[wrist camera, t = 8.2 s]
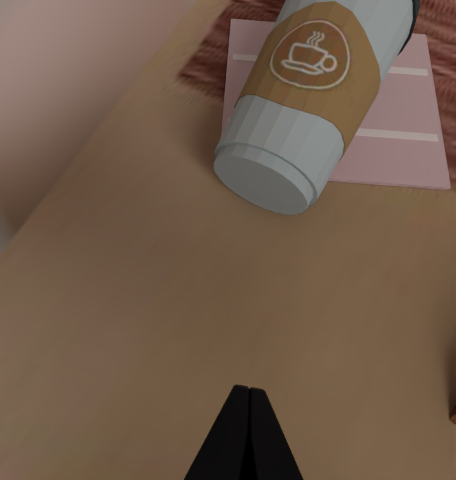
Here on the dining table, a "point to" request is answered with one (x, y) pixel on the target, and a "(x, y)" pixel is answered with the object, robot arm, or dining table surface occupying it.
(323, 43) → the coffee cup
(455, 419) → the glasses
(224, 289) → the dining table surface
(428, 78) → the pink napkin
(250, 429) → the robot arm
